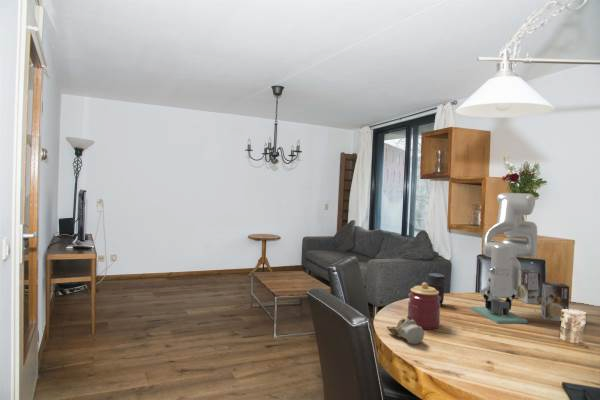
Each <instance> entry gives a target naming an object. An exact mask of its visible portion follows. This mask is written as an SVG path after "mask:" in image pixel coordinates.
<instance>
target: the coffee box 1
mask: <svg viewBox="0 0 600 400" xmlns="http://www.w3.org/2000/svg"><path fill="white" fill-rule="evenodd" d="M540 287H541V273H540V272H538V271H534V270H531V269H521V270H519V284H518V298H517V300H519V301H522V302H524V303H525V304H530V305H531V304H532V305H539V303H540Z"/></svg>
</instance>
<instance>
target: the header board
mask: <svg viewBox="0 0 600 400" xmlns="http://www.w3.org/2000/svg"><path fill="white" fill-rule="evenodd" d="M470 310H472V311H474V312H475V313H477V314H480V315H481V316H484V317H485V318H486V319H489V320H490V321H492V322H494V323H496V324H528V320H527V319H525V318H523V317H521V316H519V315H517V314H515V313H512V312H510V311H509V316H506V315H504V314H503V308H502V316H499V315H497V314H495V313H493V312H491V311H489V310H488V309H487V308H486V306H471V307H470Z"/></svg>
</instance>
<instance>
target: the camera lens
mask: <svg viewBox="0 0 600 400" xmlns="http://www.w3.org/2000/svg"><path fill="white" fill-rule="evenodd" d="M445 279H446V278H445V275H444V274H441V273H435V272H429V273H428V274H427V279H426V281H427V282H426V283H427V284H428V286H429V287H433V288H435V289H436V290H437V291H438V292H439V294H438V296H440V297H441V300H440V301H439V304H440V306H441V307H442V306H443V303H444V297H445V295H444V294H445V293H444V291H445V281H446V280H445Z"/></svg>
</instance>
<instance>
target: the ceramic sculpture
mask: <svg viewBox="0 0 600 400" xmlns="http://www.w3.org/2000/svg"><path fill="white" fill-rule="evenodd" d="M386 328H387V330H388V331H389V332H390V333H391V334H392V335H395V336H399V337H401V338H403V339H405V340H406V341H407V342H408V343H409V344H411V345H417V344H421V342H423V340H424V339H425V338H424V337H425V332H424V329H422V327H420V326H417V324H416V323H415V321H414V320H413V319H412V318H411V317H406V318H401V319H400V320H399V321H398V323H397V325H396V326H386Z"/></svg>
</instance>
